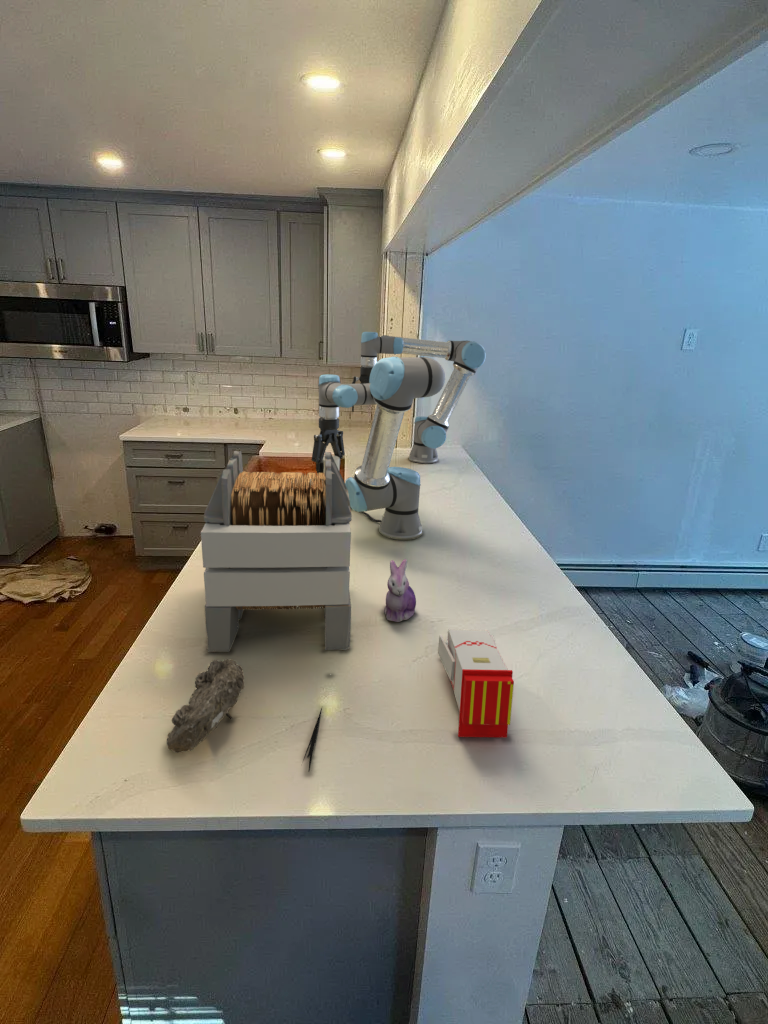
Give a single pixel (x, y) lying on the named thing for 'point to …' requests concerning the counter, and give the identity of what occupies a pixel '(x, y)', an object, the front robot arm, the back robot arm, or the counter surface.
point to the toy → (478, 682)
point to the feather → (313, 740)
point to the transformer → (277, 549)
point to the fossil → (206, 705)
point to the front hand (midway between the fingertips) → (328, 476)
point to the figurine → (399, 594)
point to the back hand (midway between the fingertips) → (367, 411)
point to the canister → (336, 459)
